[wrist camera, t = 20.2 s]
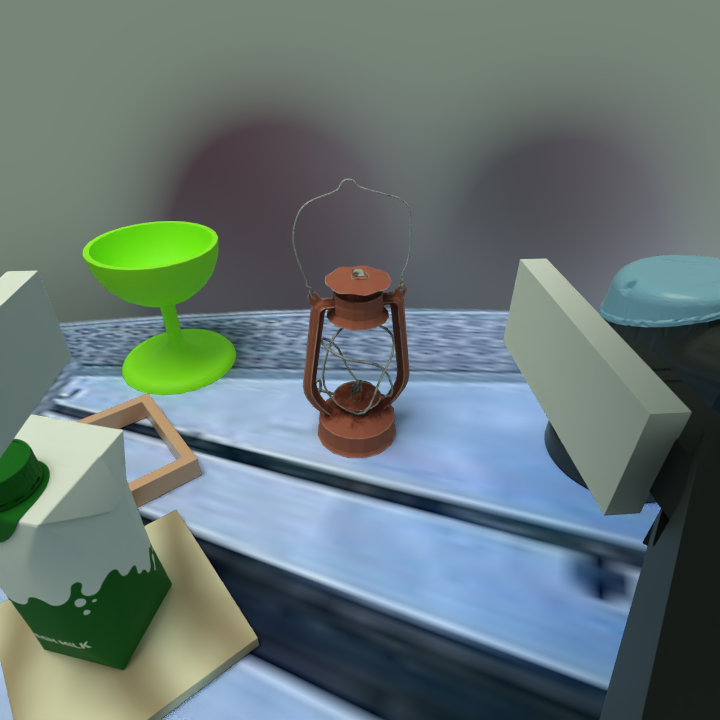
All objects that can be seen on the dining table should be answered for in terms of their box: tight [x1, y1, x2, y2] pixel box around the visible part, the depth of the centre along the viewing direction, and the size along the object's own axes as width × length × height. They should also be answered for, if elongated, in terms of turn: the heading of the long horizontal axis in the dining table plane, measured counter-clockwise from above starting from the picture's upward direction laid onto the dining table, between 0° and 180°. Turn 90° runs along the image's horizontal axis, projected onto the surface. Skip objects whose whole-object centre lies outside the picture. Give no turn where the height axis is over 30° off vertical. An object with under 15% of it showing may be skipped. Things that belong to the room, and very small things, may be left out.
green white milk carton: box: [0, 415, 172, 670], centre depth 35 cm, size 9×9×20 cm
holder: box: [77, 394, 201, 508], centre depth 55 cm, size 14×14×2 cm
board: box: [0, 510, 259, 720], centre depth 41 cm, size 16×16×1 cm
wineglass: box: [83, 221, 236, 395], centre depth 68 cm, size 16×16×18 cm
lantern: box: [293, 179, 411, 458], centre depth 53 cm, size 10×10×30 cm
